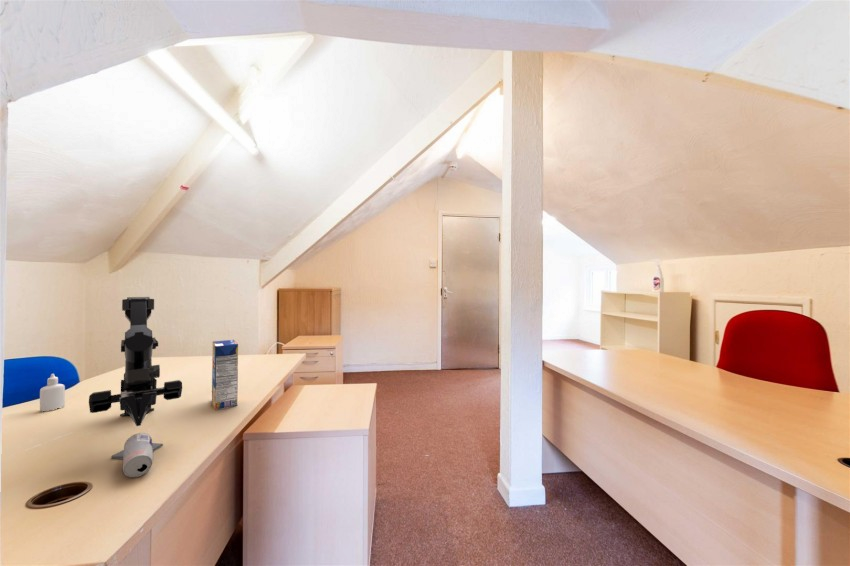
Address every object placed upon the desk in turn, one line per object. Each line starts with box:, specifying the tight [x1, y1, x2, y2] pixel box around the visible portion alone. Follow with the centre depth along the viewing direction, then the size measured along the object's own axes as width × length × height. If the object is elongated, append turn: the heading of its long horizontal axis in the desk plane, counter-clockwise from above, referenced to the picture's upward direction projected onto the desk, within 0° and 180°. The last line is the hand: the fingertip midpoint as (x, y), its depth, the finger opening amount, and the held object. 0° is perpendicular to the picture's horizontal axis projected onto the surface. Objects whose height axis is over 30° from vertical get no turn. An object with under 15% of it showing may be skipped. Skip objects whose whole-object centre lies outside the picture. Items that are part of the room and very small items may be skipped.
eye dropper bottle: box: [39, 373, 66, 413], centre depth 115 cm, size 4×6×12 cm
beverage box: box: [211, 339, 239, 411], centre depth 123 cm, size 7×11×22 cm, turn 37°
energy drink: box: [122, 432, 154, 478], centre depth 81 cm, size 5×5×12 cm
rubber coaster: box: [111, 442, 164, 460], centre depth 88 cm, size 7×7×1 cm
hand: (138, 425), depth 86 cm, fingers closed
